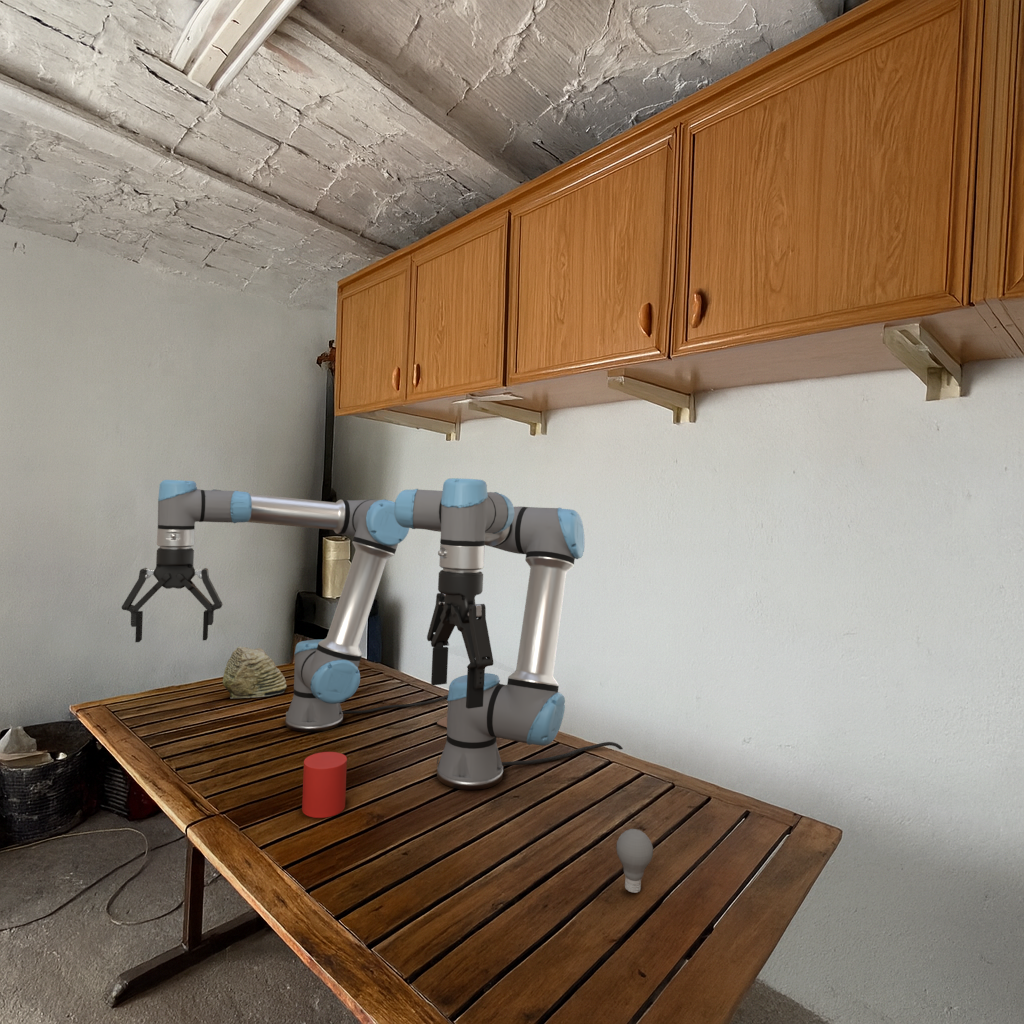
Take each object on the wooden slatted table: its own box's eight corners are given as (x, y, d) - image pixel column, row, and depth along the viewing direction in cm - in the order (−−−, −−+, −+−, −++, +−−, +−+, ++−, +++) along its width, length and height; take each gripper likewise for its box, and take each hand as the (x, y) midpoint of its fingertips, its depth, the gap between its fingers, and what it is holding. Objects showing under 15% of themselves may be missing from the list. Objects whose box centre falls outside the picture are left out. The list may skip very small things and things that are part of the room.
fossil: (218, 695, 195) (220, 647, 195) (278, 685, 208) (279, 640, 207) (228, 703, 189) (230, 653, 188) (289, 692, 201) (290, 645, 201)
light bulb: (610, 879, 108) (613, 822, 108) (644, 879, 109) (647, 822, 109) (619, 902, 102) (622, 840, 102) (655, 901, 103) (658, 840, 103)
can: (344, 796, 134) (346, 750, 134) (345, 815, 126) (347, 767, 126) (303, 799, 132) (304, 753, 132) (301, 819, 124) (303, 770, 124)
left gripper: (108, 548, 137) (104, 645, 137) (233, 549, 145) (230, 641, 146) (117, 545, 144) (114, 638, 144) (236, 547, 152) (233, 634, 153)
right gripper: (412, 562, 116) (407, 678, 116) (476, 580, 94) (469, 721, 95) (449, 562, 120) (444, 673, 120) (518, 578, 98) (512, 714, 99)
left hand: (172, 640), depth 145 cm, fingers open, 13 cm apart
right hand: (455, 695), depth 107 cm, fingers open, 13 cm apart
